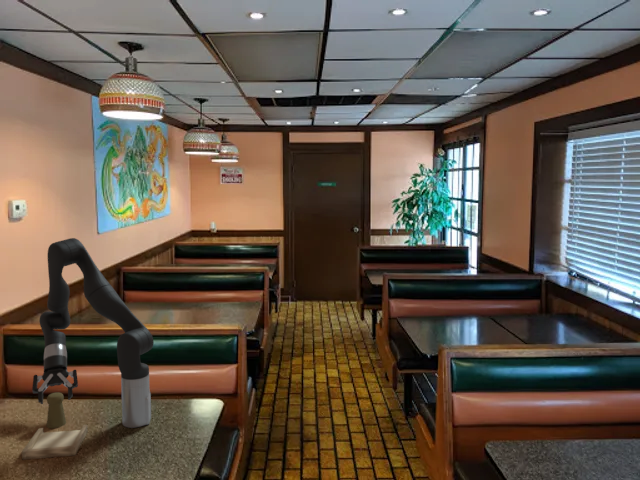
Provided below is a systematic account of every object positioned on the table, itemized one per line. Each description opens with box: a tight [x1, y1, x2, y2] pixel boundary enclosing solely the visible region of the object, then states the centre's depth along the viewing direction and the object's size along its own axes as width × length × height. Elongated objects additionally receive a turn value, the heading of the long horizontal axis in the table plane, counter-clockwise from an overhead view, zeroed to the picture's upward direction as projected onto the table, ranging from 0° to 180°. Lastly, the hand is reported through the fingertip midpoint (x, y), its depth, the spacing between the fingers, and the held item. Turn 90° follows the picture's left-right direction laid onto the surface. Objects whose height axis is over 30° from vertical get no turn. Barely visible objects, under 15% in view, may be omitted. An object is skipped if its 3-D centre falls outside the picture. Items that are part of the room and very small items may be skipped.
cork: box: [46, 392, 67, 429], centre depth 172 cm, size 6×6×11 cm
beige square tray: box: [21, 424, 89, 461], centre depth 159 cm, size 15×15×2 cm
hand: (55, 401), depth 173 cm, fingers open, 8 cm apart
